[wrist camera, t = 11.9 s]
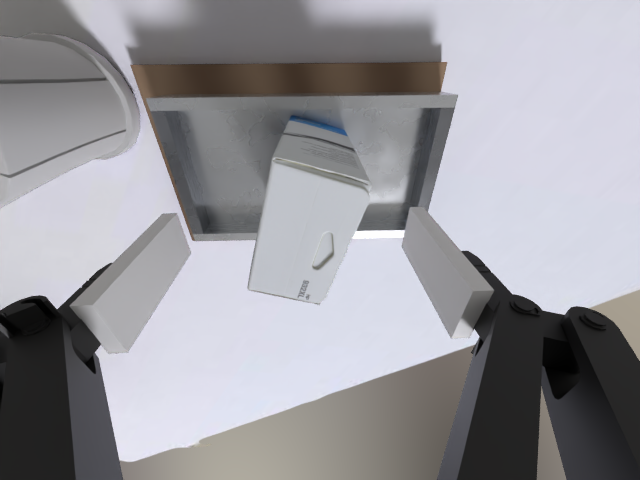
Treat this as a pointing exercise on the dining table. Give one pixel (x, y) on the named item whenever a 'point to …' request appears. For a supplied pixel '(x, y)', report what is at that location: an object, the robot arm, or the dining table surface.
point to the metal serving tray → (262, 140)
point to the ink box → (308, 212)
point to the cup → (58, 110)
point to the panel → (283, 82)
